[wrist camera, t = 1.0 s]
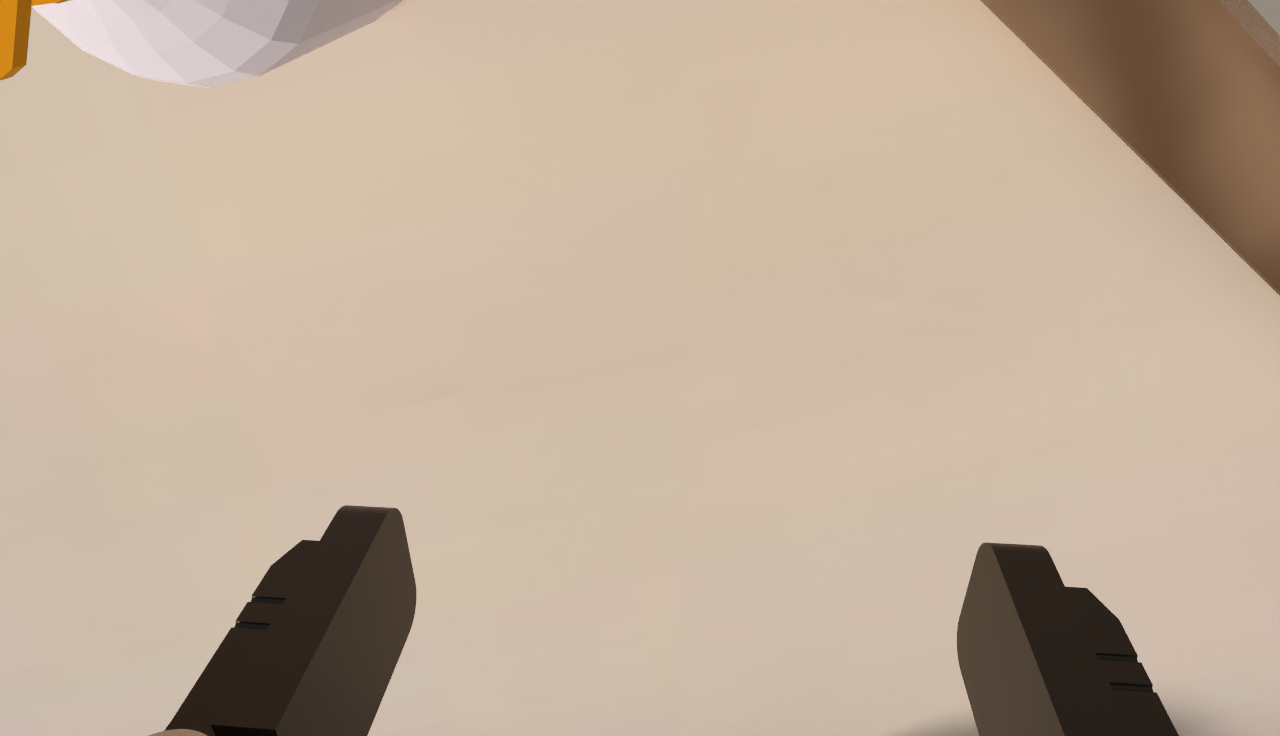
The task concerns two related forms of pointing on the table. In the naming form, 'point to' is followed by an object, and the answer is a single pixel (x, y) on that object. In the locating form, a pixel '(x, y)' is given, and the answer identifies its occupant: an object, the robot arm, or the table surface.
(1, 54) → the soap bottle
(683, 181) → the table surface
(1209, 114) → the label panel
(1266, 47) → the swing arm
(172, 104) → the table surface
